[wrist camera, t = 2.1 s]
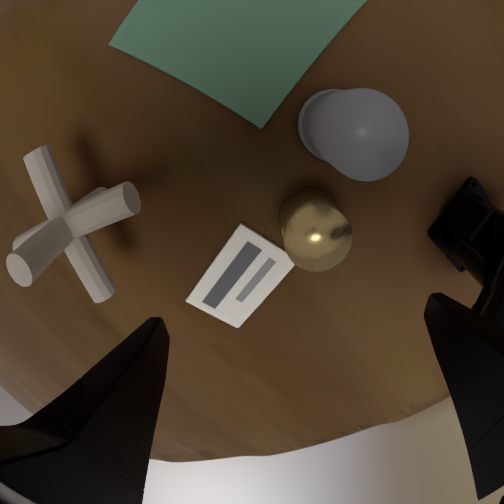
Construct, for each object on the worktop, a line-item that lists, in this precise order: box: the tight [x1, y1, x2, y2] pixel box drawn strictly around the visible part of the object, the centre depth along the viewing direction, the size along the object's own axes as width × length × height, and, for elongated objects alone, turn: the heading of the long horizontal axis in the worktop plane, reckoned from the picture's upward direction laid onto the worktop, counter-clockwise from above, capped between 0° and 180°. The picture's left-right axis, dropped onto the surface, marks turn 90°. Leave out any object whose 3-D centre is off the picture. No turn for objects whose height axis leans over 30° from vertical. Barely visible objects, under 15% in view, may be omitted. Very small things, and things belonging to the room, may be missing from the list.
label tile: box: [186, 223, 295, 328], centre depth 22 cm, size 5×8×1 cm, turn 145°
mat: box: [108, 0, 367, 129], centre depth 13 cm, size 12×12×1 cm
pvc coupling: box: [297, 88, 409, 181], centre depth 14 cm, size 5×5×6 cm
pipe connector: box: [6, 144, 141, 303], centre depth 15 cm, size 10×10×10 cm
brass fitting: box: [279, 188, 353, 272], centre depth 18 cm, size 4×4×4 cm
